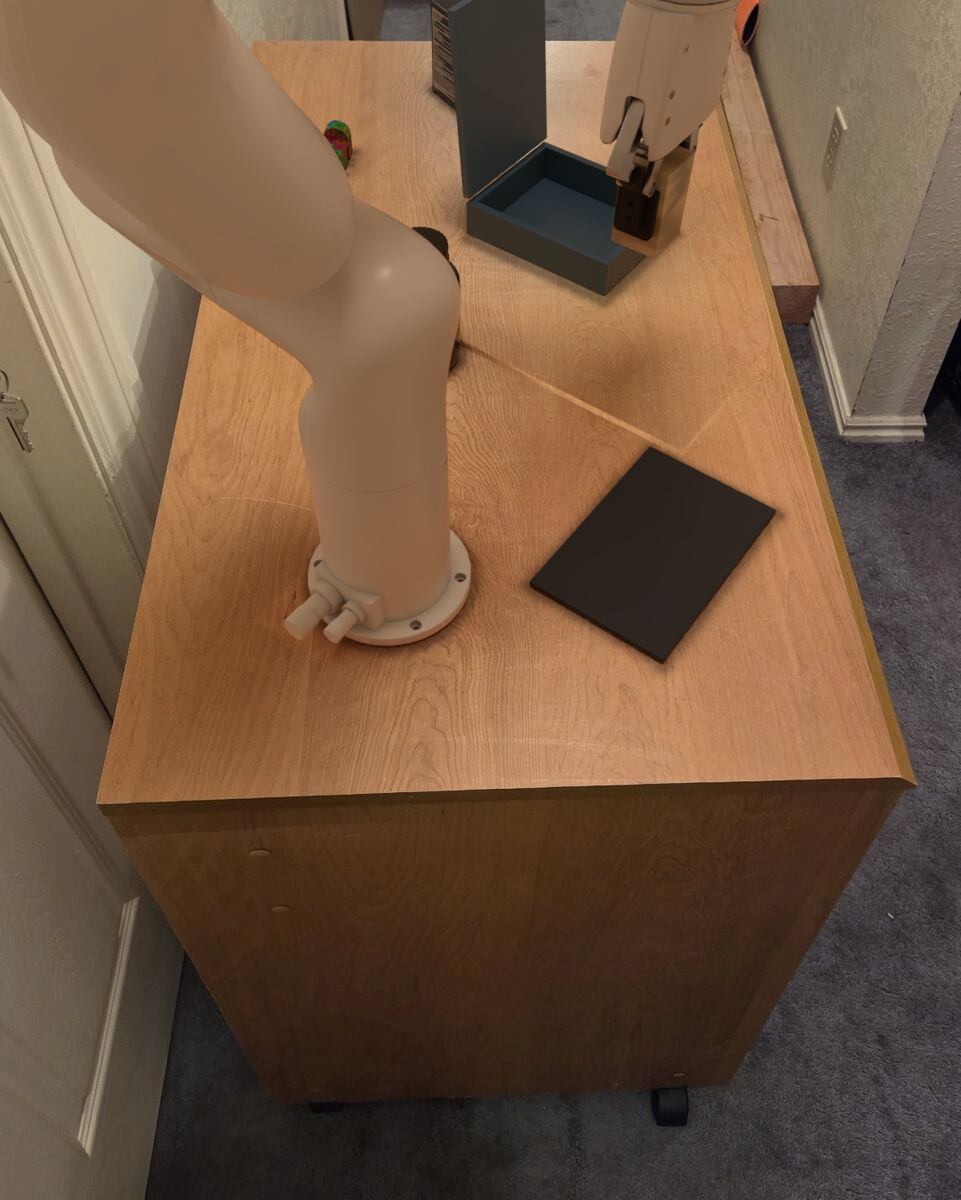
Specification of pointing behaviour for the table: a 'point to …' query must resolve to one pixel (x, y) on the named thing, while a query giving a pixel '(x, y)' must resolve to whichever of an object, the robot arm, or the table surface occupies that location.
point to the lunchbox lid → (497, 84)
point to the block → (664, 202)
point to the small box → (442, 50)
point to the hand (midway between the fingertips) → (648, 216)
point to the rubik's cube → (339, 140)
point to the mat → (653, 552)
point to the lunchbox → (555, 218)
